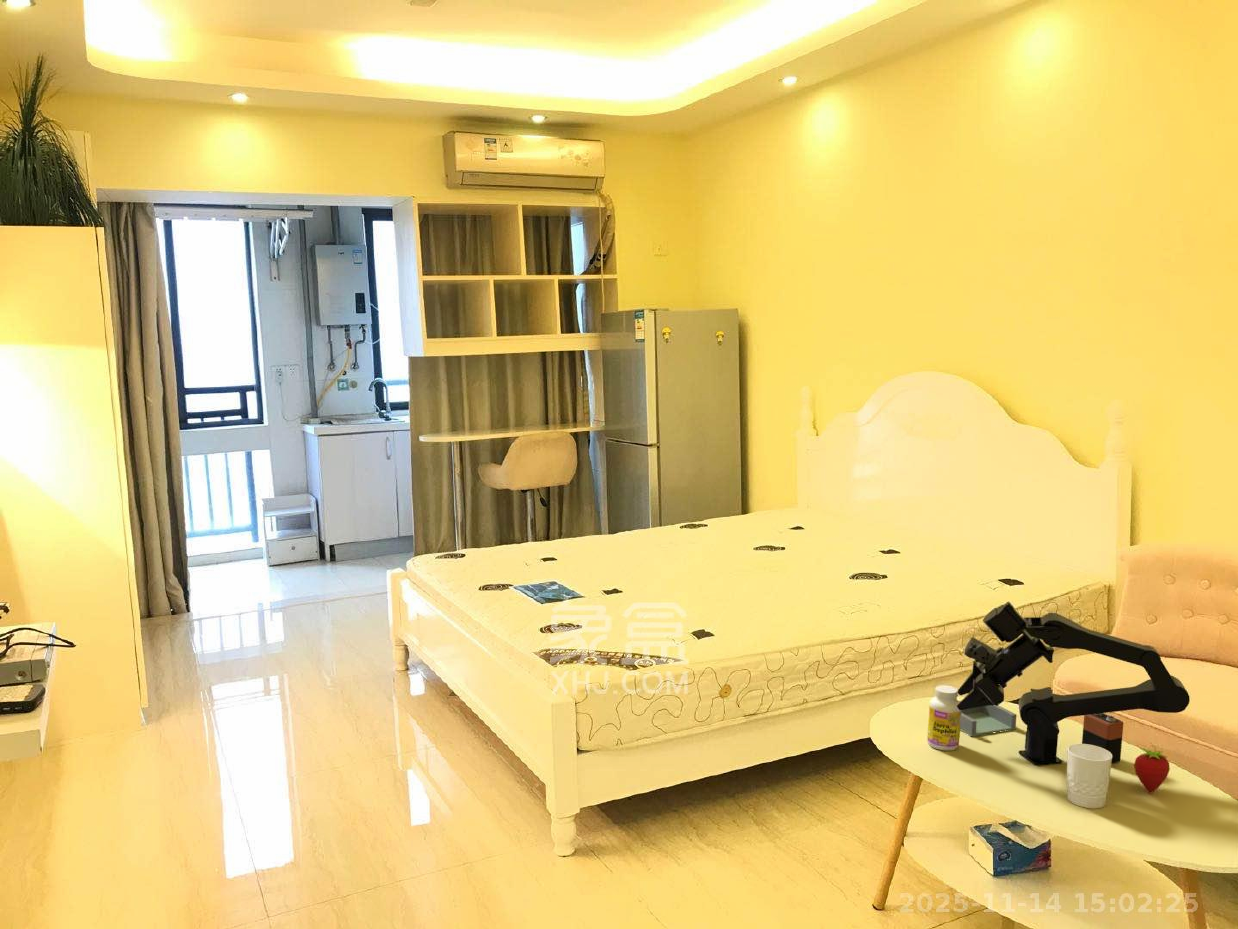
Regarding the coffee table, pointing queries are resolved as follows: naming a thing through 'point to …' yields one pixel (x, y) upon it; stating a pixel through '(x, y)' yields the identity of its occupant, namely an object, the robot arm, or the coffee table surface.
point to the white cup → (1088, 775)
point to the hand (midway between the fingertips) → (958, 700)
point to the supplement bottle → (944, 719)
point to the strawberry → (1151, 769)
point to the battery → (1104, 733)
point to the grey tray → (987, 720)
